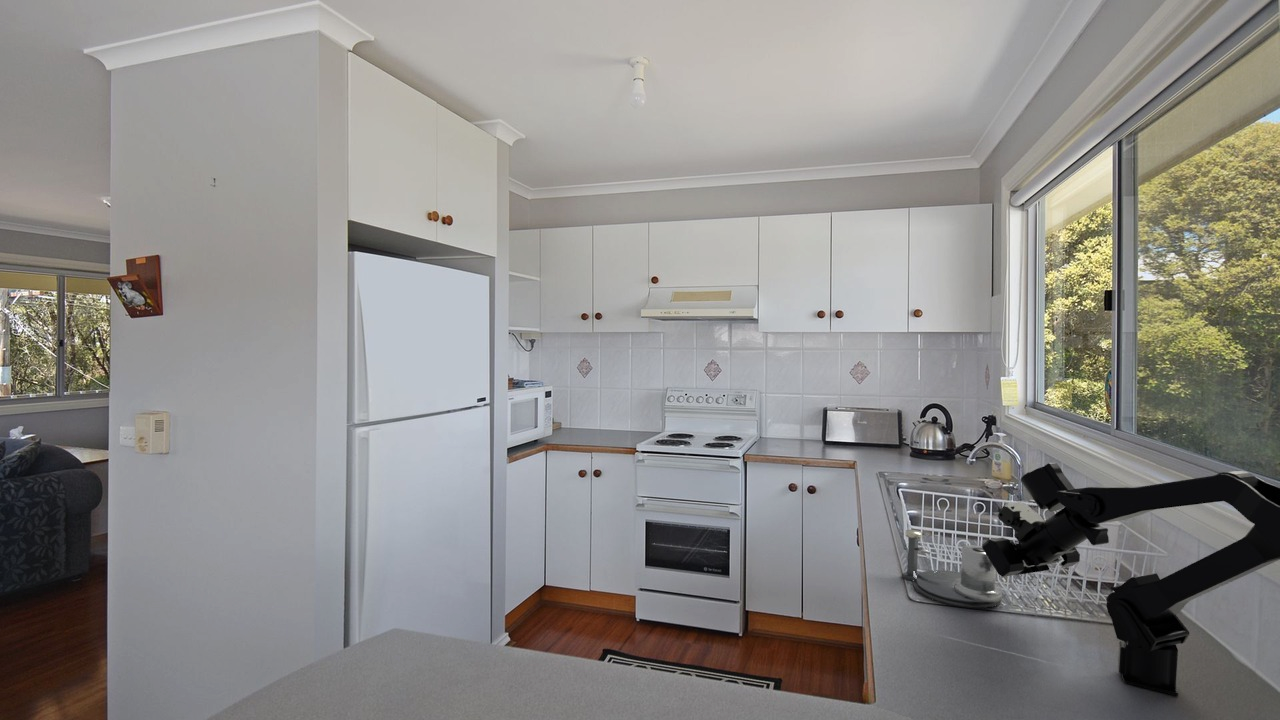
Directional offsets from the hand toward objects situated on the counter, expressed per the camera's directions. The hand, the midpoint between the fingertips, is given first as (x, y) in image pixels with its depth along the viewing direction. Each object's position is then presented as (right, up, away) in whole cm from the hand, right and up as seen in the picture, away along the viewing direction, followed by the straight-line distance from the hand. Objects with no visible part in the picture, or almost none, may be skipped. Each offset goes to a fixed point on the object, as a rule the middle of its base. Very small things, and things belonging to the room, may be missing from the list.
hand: (1000, 573), depth 124 cm
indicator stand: (-9, -7, +16) cm, 20 cm away
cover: (-2, -5, +5) cm, 7 cm away
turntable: (-4, -7, +10) cm, 12 cm away
